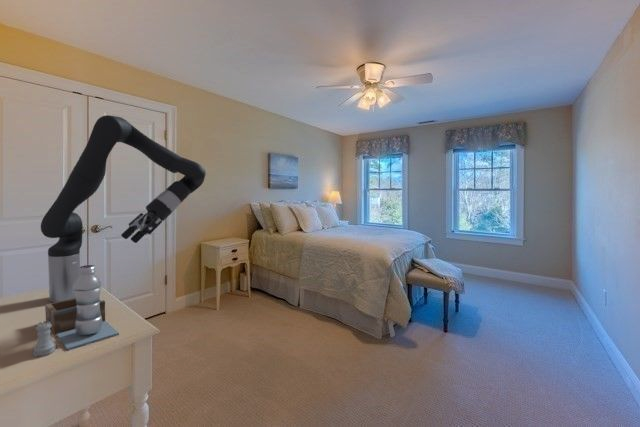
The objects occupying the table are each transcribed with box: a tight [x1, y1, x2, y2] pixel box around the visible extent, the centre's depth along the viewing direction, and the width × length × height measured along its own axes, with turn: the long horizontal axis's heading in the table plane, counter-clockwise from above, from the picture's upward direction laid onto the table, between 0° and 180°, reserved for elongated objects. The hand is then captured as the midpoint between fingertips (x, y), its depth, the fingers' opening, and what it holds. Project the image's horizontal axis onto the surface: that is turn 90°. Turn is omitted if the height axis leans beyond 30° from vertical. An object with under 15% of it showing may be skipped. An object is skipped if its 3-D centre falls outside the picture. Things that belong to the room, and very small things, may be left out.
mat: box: [56, 320, 120, 351], centre depth 88 cm, size 12×12×1 cm
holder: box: [44, 298, 106, 336], centre depth 96 cm, size 13×12×7 cm
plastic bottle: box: [73, 264, 103, 336], centre depth 87 cm, size 6×7×20 cm
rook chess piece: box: [32, 320, 57, 358], centre depth 78 cm, size 4×4×8 cm
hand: (128, 239), depth 100 cm, fingers open, 8 cm apart
